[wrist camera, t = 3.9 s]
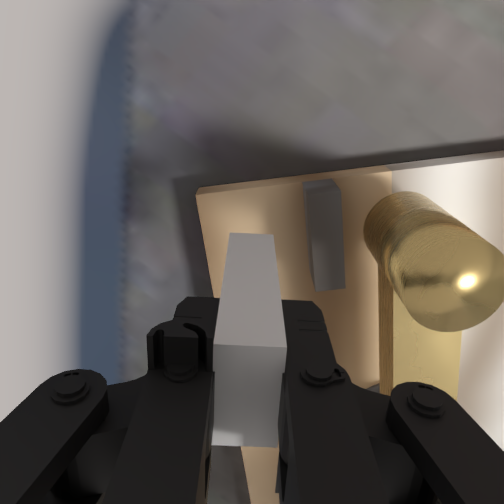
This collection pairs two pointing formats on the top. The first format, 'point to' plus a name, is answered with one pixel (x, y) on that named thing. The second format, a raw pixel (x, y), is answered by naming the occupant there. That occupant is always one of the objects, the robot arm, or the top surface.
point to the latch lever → (428, 288)
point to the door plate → (360, 267)
